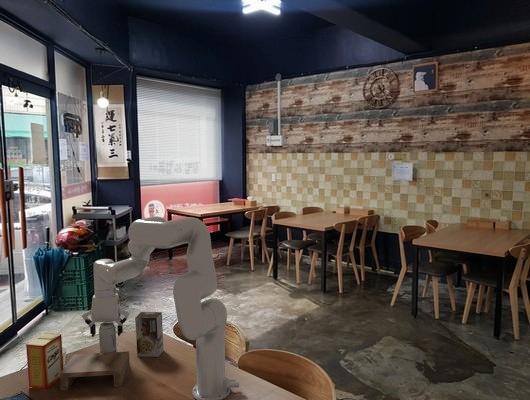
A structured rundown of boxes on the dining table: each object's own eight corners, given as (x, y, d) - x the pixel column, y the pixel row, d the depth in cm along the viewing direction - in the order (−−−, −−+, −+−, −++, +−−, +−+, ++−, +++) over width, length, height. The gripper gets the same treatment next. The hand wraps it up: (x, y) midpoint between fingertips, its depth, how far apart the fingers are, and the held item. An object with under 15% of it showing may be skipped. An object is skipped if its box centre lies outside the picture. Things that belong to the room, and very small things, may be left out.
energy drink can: (113, 364, 164) (112, 326, 163) (98, 365, 164) (96, 327, 163) (119, 357, 170) (117, 320, 168) (104, 357, 170) (102, 320, 169)
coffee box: (164, 349, 176) (162, 311, 175) (158, 357, 170) (157, 317, 168) (142, 349, 177) (140, 311, 176) (136, 356, 171) (134, 317, 169)
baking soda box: (45, 389, 147) (42, 344, 145) (29, 387, 148) (25, 343, 147) (63, 375, 156) (61, 333, 155) (47, 374, 158) (45, 332, 156)
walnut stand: (129, 366, 163) (129, 351, 162) (121, 386, 149) (120, 369, 148) (74, 369, 161) (73, 354, 160) (60, 390, 147) (59, 373, 146)
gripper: (130, 288, 169) (131, 330, 171) (84, 289, 167) (86, 331, 169) (126, 294, 161) (127, 338, 163) (78, 295, 160) (80, 340, 162)
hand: (106, 334), depth 166 cm, fingers open, 9 cm apart
